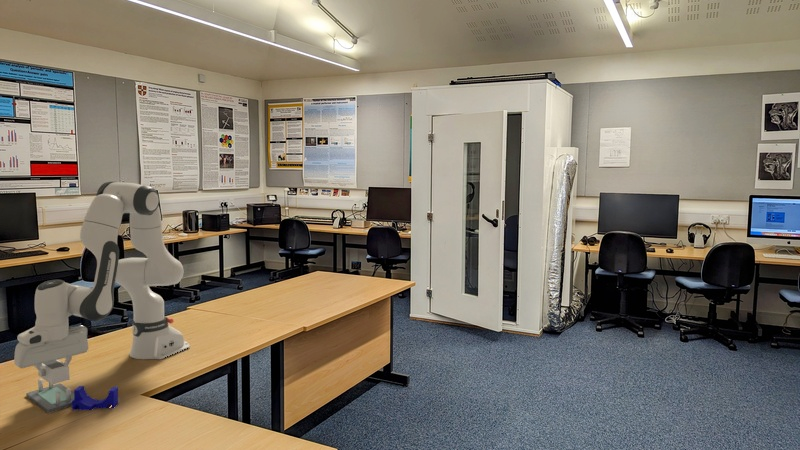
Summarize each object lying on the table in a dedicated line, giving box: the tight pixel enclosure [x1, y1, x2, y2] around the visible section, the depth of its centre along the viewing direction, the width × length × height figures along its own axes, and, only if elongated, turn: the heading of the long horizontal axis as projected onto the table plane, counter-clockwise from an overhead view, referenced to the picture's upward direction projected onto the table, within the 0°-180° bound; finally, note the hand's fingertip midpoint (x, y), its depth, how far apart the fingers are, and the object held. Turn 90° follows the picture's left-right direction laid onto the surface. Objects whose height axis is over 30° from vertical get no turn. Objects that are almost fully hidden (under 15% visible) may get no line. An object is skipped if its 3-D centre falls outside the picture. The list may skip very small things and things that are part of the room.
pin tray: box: [25, 378, 74, 414], centre depth 170 cm, size 10×17×5 cm, turn 54°
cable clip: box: [71, 385, 119, 411], centre depth 167 cm, size 12×4×6 cm, turn 94°
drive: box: [40, 359, 70, 385], centre depth 169 cm, size 5×10×5 cm, turn 54°
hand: (53, 372), depth 169 cm, fingers closed on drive, 5 cm apart
